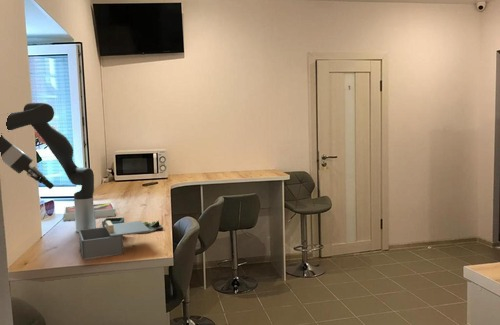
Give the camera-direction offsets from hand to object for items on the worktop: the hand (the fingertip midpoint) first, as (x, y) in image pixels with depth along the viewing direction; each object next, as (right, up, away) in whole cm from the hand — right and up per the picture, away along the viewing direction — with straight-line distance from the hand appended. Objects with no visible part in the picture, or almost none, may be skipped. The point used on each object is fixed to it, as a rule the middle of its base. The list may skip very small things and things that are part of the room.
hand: (52, 187), depth 170 cm
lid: (+26, -20, +15) cm, 36 cm away
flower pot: (+15, -27, +32) cm, 44 cm away
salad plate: (+26, -26, +47) cm, 60 cm away
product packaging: (-18, -23, +85) cm, 90 cm away
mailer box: (+16, -29, +11) cm, 35 cm away
